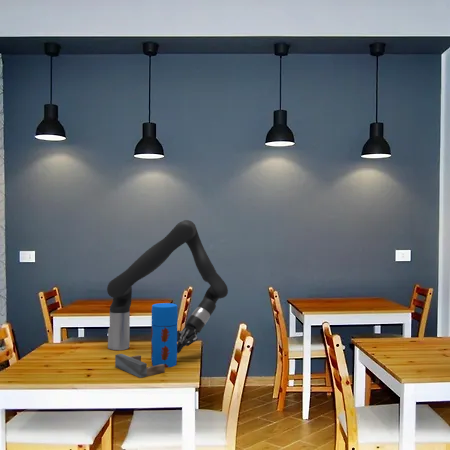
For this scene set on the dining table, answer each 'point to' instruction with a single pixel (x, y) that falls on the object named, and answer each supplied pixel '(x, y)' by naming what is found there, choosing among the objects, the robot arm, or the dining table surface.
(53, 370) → the dining table surface
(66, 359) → the dining table surface
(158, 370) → the bay
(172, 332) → the thermos
